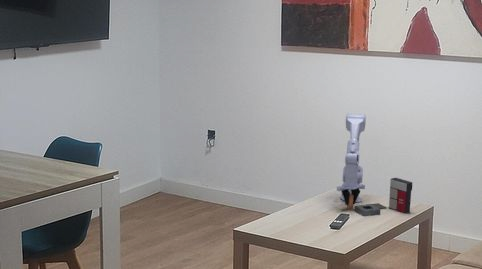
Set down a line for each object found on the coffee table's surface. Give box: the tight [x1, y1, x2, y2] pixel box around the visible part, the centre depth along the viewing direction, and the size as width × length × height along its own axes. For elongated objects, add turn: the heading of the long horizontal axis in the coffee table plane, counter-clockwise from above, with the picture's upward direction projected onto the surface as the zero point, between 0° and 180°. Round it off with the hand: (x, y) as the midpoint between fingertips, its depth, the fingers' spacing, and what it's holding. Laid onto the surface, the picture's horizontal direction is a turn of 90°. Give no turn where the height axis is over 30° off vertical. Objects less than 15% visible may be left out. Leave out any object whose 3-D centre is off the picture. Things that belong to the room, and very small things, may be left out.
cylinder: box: [346, 194, 354, 211], centre depth 377 cm, size 3×3×7 cm
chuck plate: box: [353, 203, 382, 217], centre depth 372 cm, size 9×9×2 cm
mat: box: [365, 202, 388, 210], centre depth 381 cm, size 8×8×1 cm
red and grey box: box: [388, 177, 413, 214], centre depth 375 cm, size 11×4×15 cm, turn 37°
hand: (350, 204), depth 377 cm, fingers closed on cylinder, 3 cm apart
